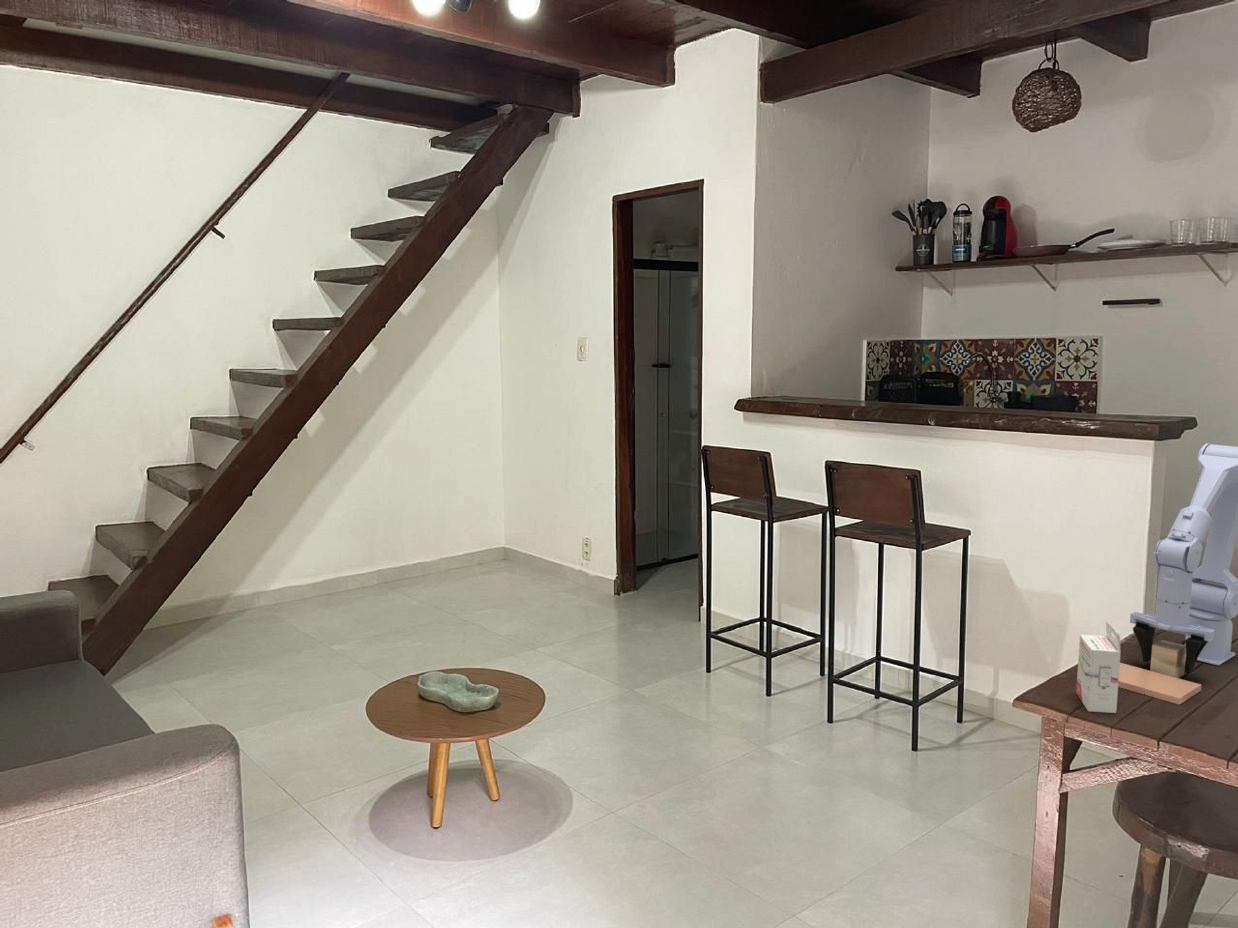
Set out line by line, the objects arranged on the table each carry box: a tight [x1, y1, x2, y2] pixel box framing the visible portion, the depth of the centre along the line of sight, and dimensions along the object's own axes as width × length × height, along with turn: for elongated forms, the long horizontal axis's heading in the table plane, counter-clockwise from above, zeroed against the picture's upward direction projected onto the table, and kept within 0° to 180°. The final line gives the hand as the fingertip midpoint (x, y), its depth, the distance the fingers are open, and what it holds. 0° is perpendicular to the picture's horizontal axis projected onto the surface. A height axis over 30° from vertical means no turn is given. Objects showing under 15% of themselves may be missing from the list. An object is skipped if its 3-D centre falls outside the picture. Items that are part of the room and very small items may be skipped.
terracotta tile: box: [1118, 662, 1202, 705], centre depth 178 cm, size 10×15×1 cm, turn 39°
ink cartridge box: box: [1075, 620, 1121, 714], centre depth 169 cm, size 9×5×15 cm, turn 168°
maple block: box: [1149, 639, 1186, 679], centre depth 183 cm, size 4×4×6 cm
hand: (1167, 666), depth 183 cm, fingers open, 7 cm apart
